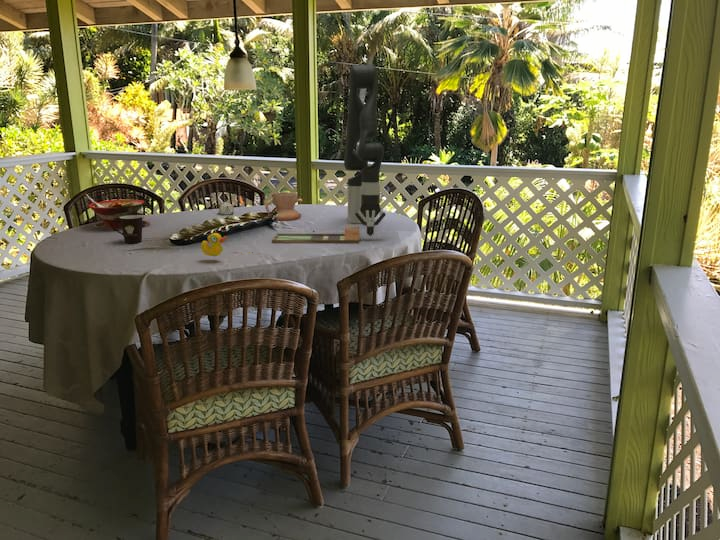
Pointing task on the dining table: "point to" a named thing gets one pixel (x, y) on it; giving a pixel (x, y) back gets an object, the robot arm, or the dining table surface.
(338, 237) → the trap pads
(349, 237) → the terracotta block
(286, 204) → the ceramic jug
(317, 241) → the flat tray
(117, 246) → the dining table surface
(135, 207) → the stew
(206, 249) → the duckling
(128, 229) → the coffee mug
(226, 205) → the grey rounded lump
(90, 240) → the dining table surface
